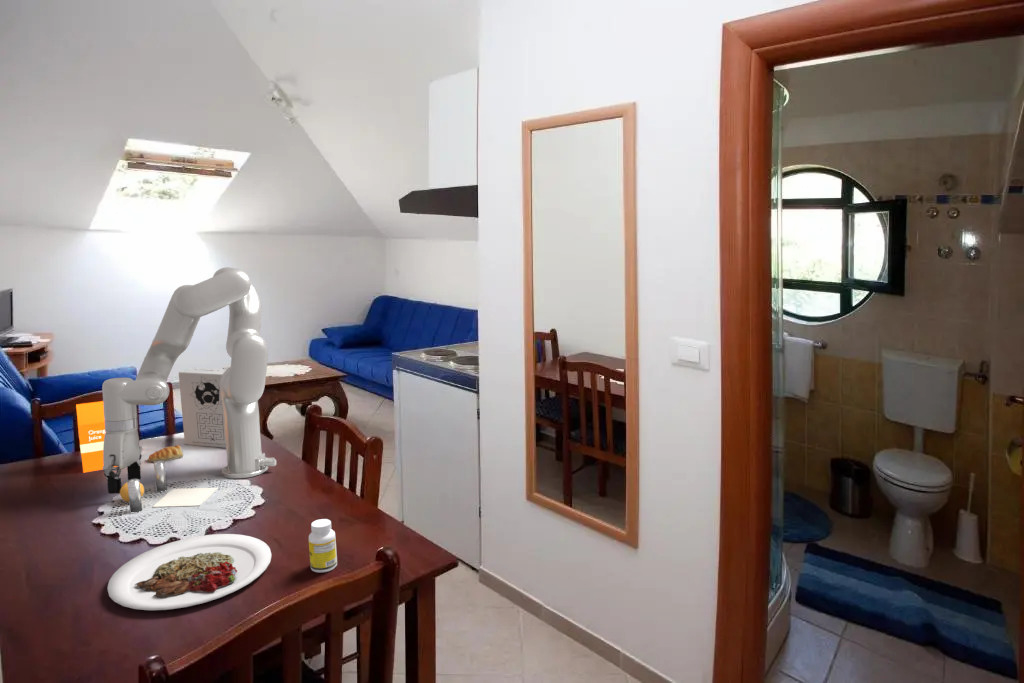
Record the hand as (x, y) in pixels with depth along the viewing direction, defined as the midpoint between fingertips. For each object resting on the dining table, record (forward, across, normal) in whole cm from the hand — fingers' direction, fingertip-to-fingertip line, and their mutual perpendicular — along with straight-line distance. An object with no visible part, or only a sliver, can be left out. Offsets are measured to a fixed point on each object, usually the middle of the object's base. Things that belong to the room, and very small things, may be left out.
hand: (125, 486), depth 173 cm
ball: (0, +5, +4) cm, 6 cm away
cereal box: (+2, -44, +8) cm, 44 cm away
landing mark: (+2, +3, +17) cm, 18 cm away
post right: (+2, -2, +8) cm, 9 cm away
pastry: (+2, -30, -2) cm, 30 cm away
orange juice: (+3, -24, -20) cm, 31 cm away
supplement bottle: (+1, +43, +62) cm, 76 cm away
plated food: (+3, +44, +37) cm, 57 cm away
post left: (+2, +11, +8) cm, 14 cm away
